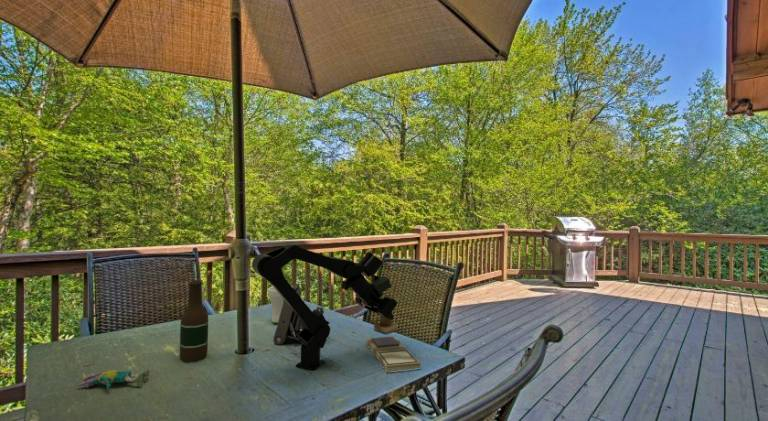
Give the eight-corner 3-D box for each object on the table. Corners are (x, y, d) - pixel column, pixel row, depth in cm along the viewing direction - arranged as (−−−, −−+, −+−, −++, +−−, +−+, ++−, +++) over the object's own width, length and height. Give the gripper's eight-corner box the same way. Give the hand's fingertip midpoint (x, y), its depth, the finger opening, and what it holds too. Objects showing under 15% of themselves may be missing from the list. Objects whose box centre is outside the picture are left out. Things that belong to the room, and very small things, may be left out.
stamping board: (419, 369, 112) (420, 362, 112) (386, 373, 109) (387, 365, 109) (394, 341, 135) (394, 335, 135) (366, 344, 132) (366, 338, 132)
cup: (264, 326, 148) (265, 291, 148) (270, 318, 159) (271, 285, 159) (293, 326, 149) (294, 291, 149) (297, 318, 160) (297, 285, 160)
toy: (154, 377, 105) (95, 387, 102) (153, 358, 105) (94, 367, 103) (135, 393, 94) (69, 404, 92) (133, 372, 94) (67, 382, 92)
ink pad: (399, 345, 126) (399, 343, 126) (377, 347, 124) (377, 345, 124) (392, 338, 133) (392, 336, 133) (371, 339, 131) (371, 337, 131)
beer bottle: (196, 364, 112) (198, 284, 112) (173, 361, 114) (175, 282, 113) (212, 354, 120) (214, 279, 120) (191, 351, 121) (193, 277, 121)
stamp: (397, 331, 128) (397, 302, 128) (385, 334, 124) (386, 304, 124) (385, 327, 132) (386, 299, 132) (374, 330, 128) (374, 301, 128)
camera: (315, 357, 128) (332, 301, 128) (268, 343, 129) (285, 287, 129) (321, 346, 139) (336, 294, 139) (278, 332, 140) (293, 281, 140)
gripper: (393, 273, 118) (419, 304, 124) (363, 265, 134) (388, 293, 140) (371, 301, 114) (399, 332, 120) (343, 289, 130) (369, 317, 136)
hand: (389, 316), depth 129 cm, fingers closed on stamp, 4 cm apart
